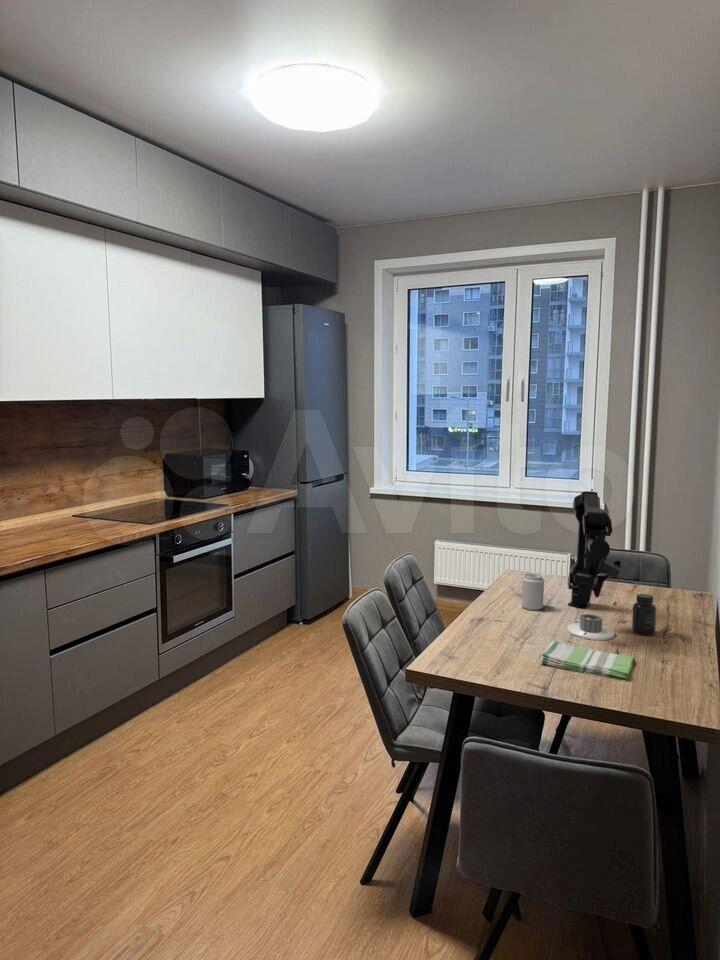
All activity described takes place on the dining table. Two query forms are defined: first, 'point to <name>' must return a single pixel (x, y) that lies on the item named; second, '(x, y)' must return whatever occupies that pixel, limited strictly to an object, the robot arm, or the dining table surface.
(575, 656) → the dish towel
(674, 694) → the dining table surface
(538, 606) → the can
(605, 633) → the shaft hub
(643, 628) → the supplement bottle
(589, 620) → the grey segmented ring
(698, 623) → the dining table surface
